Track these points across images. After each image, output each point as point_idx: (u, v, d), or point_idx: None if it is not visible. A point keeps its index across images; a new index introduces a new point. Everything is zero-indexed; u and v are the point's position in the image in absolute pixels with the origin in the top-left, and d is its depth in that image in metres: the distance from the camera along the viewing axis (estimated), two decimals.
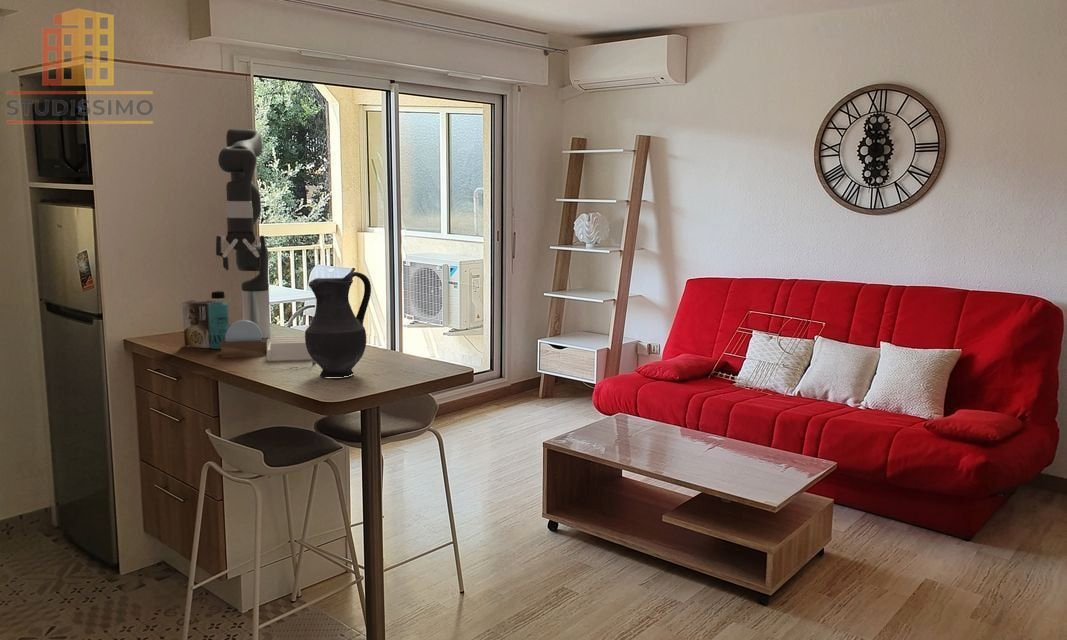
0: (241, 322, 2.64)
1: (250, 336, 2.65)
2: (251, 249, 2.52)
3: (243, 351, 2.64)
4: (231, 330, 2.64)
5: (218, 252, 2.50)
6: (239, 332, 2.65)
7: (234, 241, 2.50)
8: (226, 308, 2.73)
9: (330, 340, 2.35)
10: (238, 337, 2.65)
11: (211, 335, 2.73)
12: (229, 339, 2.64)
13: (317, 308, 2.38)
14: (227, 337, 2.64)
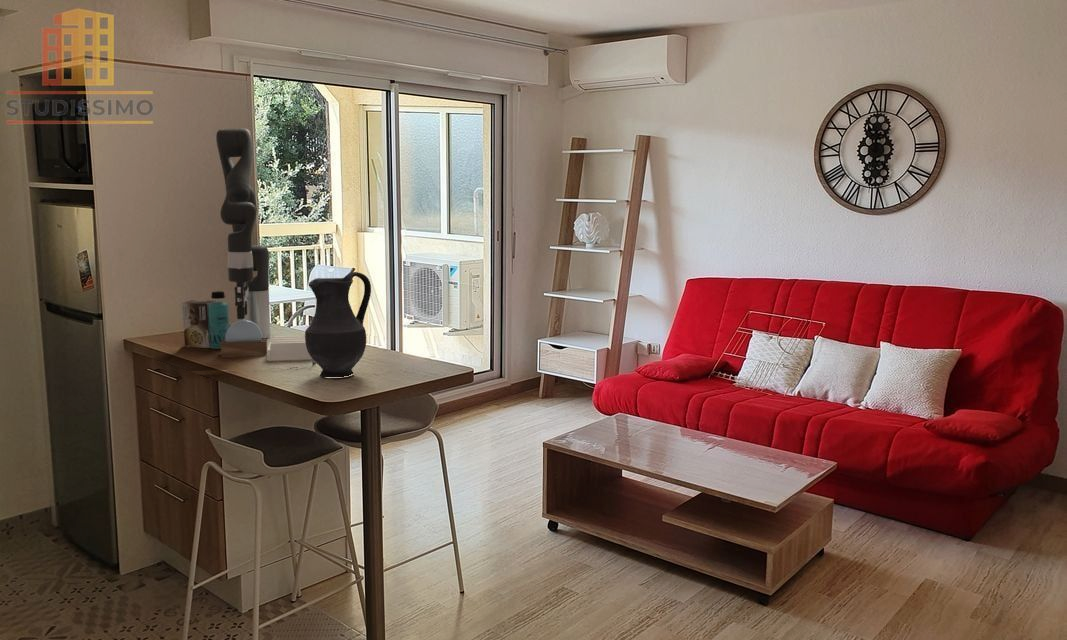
0: (241, 322, 2.64)
1: (250, 336, 2.65)
2: (248, 296, 2.67)
3: (243, 351, 2.64)
4: (231, 330, 2.64)
5: (243, 302, 2.58)
6: (239, 332, 2.65)
7: (247, 290, 2.62)
8: (226, 308, 2.73)
9: (330, 340, 2.35)
10: (238, 337, 2.65)
11: (211, 335, 2.73)
12: (229, 339, 2.64)
13: (317, 308, 2.38)
14: (227, 337, 2.64)
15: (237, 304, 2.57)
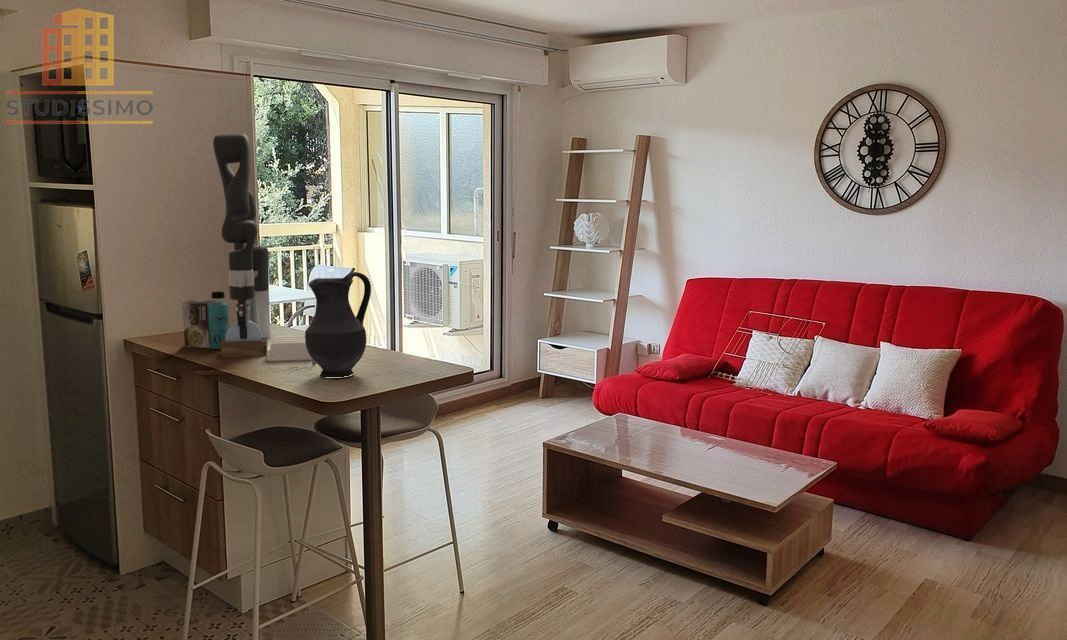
0: None
1: (250, 336, 2.65)
2: (249, 315, 2.66)
3: (243, 351, 2.64)
4: (231, 330, 2.64)
5: (246, 322, 2.62)
6: (239, 332, 2.65)
7: (248, 308, 2.63)
8: (226, 308, 2.73)
9: (330, 340, 2.35)
10: (238, 337, 2.65)
11: (211, 335, 2.73)
12: (229, 339, 2.64)
13: (317, 308, 2.38)
14: (227, 337, 2.64)
15: (240, 325, 2.61)
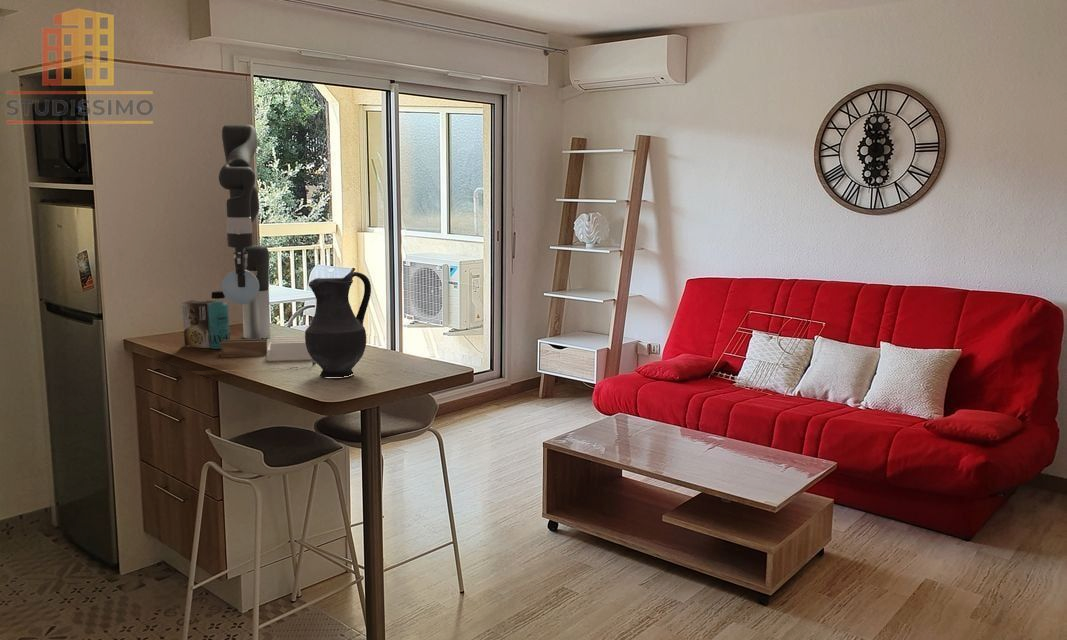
0: None
1: (247, 285, 2.63)
2: None
3: (243, 351, 2.64)
4: (228, 279, 2.61)
5: (244, 270, 2.60)
6: (236, 281, 2.62)
7: (246, 256, 2.61)
8: (226, 308, 2.73)
9: (330, 340, 2.35)
10: (235, 286, 2.62)
11: (211, 335, 2.73)
12: (226, 288, 2.61)
13: (317, 308, 2.38)
14: (224, 285, 2.61)
15: (238, 273, 2.59)
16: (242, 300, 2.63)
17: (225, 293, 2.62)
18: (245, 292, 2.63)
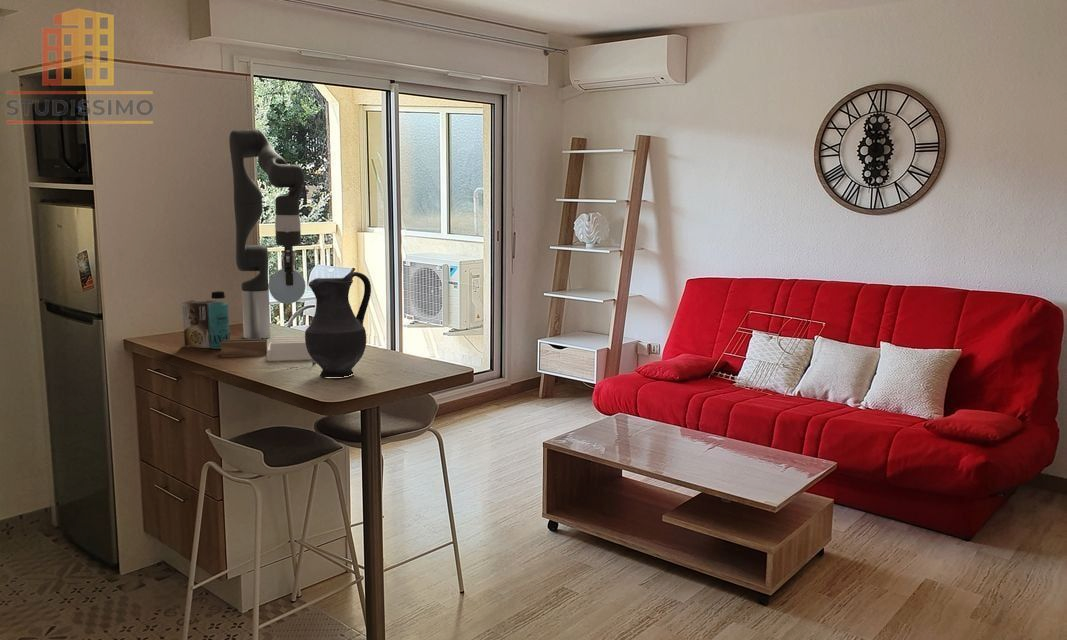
0: None
1: (293, 285, 2.61)
2: None
3: (243, 351, 2.64)
4: (275, 277, 2.60)
5: (292, 268, 2.58)
6: (283, 280, 2.60)
7: (295, 254, 2.59)
8: (226, 308, 2.73)
9: (330, 340, 2.35)
10: (282, 285, 2.60)
11: (211, 335, 2.73)
12: (272, 286, 2.60)
13: (317, 308, 2.38)
14: (271, 284, 2.60)
15: (286, 271, 2.57)
16: (288, 299, 2.62)
17: (271, 291, 2.60)
18: (291, 292, 2.61)
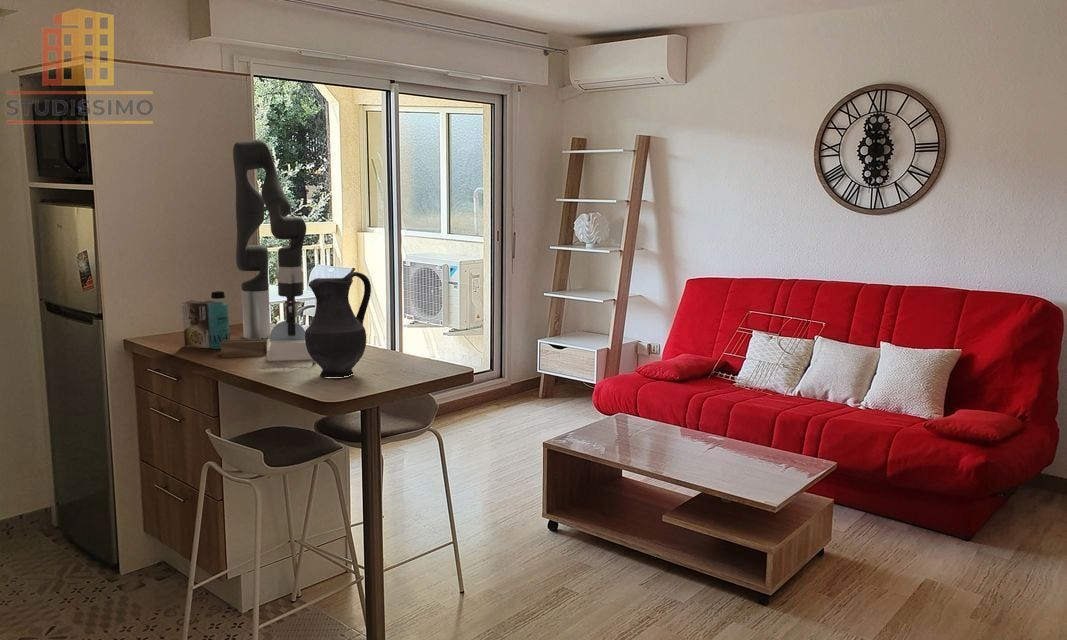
0: None
1: (294, 338, 2.64)
2: None
3: (243, 351, 2.64)
4: (278, 328, 2.62)
5: (295, 319, 2.60)
6: (285, 332, 2.63)
7: (297, 305, 2.62)
8: (226, 308, 2.73)
9: (330, 340, 2.35)
10: (283, 336, 2.63)
11: (211, 335, 2.73)
12: (273, 336, 2.62)
13: (317, 308, 2.38)
14: (272, 334, 2.62)
15: (288, 322, 2.59)
16: None
17: None
18: None
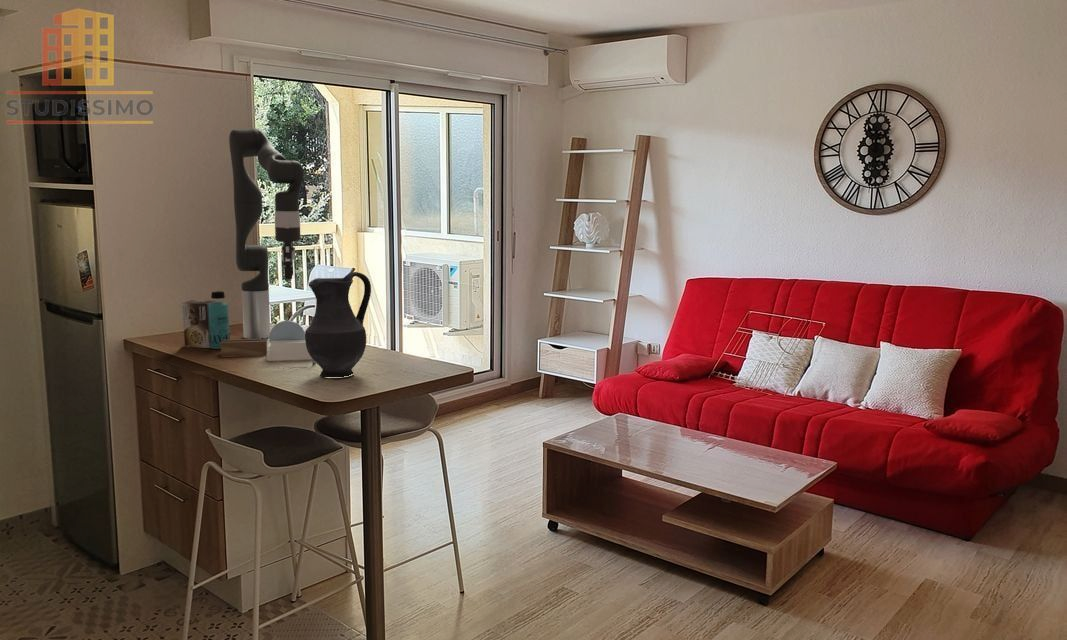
0: (288, 323, 2.63)
1: (294, 338, 2.64)
2: (294, 256, 2.64)
3: (243, 351, 2.64)
4: (277, 328, 2.62)
5: (292, 262, 2.55)
6: (284, 332, 2.63)
7: (294, 250, 2.59)
8: (226, 308, 2.73)
9: (330, 340, 2.35)
10: (282, 337, 2.63)
11: (211, 335, 2.73)
12: (273, 337, 2.62)
13: (317, 308, 2.38)
14: (271, 334, 2.62)
15: (285, 264, 2.54)
16: None
17: None
18: None
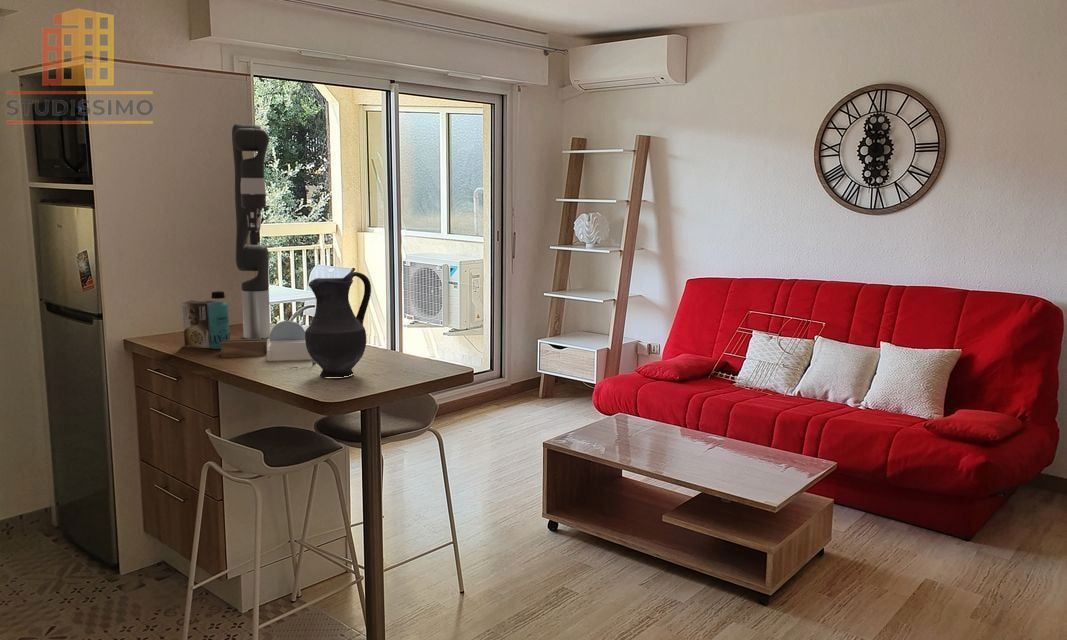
0: (289, 323, 2.63)
1: (294, 338, 2.64)
2: (260, 223, 2.70)
3: (243, 351, 2.64)
4: (278, 328, 2.62)
5: (256, 227, 2.61)
6: (285, 332, 2.63)
7: (260, 216, 2.65)
8: (226, 308, 2.73)
9: (330, 340, 2.35)
10: (282, 337, 2.63)
11: (211, 335, 2.73)
12: (273, 336, 2.62)
13: (317, 308, 2.38)
14: (272, 334, 2.62)
15: (250, 229, 2.60)
16: None
17: None
18: None
